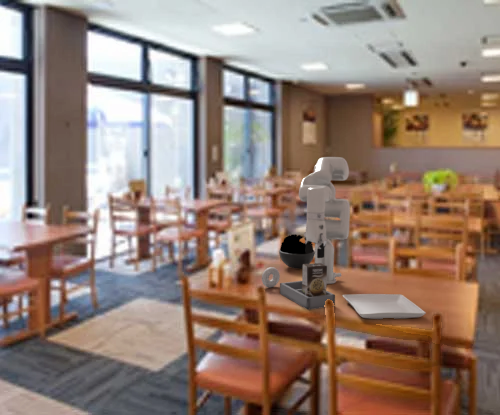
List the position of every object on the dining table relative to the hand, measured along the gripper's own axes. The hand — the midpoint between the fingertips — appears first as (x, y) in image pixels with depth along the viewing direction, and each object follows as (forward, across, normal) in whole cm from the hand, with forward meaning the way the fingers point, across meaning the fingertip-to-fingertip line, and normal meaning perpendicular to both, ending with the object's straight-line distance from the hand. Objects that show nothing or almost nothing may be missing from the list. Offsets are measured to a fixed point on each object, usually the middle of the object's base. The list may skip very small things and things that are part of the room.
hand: (314, 255), depth 220 cm
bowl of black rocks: (+23, +59, -24) cm, 68 cm away
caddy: (+22, +5, +1) cm, 22 cm away
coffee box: (+20, -1, 0) cm, 20 cm away
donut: (+22, +29, +7) cm, 37 cm away
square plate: (+22, -20, -21) cm, 36 cm away
